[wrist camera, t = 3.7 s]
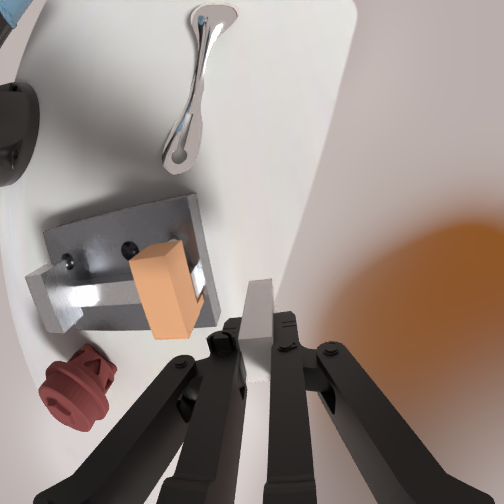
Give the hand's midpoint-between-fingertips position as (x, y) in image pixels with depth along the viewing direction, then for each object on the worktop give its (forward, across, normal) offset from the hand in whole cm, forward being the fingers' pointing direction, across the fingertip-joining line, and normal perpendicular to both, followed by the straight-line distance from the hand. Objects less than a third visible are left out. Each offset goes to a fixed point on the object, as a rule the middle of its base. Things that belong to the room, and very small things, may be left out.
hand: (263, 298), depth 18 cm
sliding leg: (+6, -8, 0) cm, 10 cm away
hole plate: (+10, -15, 0) cm, 18 cm away
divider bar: (+7, -15, 0) cm, 17 cm away
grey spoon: (+10, -4, +18) cm, 21 cm away
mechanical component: (+10, -27, -14) cm, 32 cm away
